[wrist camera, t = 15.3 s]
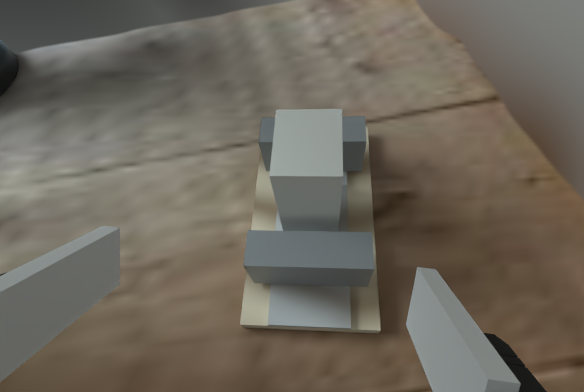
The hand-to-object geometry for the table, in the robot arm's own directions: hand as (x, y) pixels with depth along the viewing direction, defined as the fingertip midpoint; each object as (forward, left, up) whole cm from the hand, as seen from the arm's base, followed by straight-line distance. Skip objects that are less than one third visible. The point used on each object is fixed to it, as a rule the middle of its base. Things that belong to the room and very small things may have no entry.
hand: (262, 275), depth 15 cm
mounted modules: (-11, +4, -16) cm, 20 cm away
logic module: (-11, +4, -16) cm, 20 cm away
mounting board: (-11, +4, -18) cm, 22 cm away
